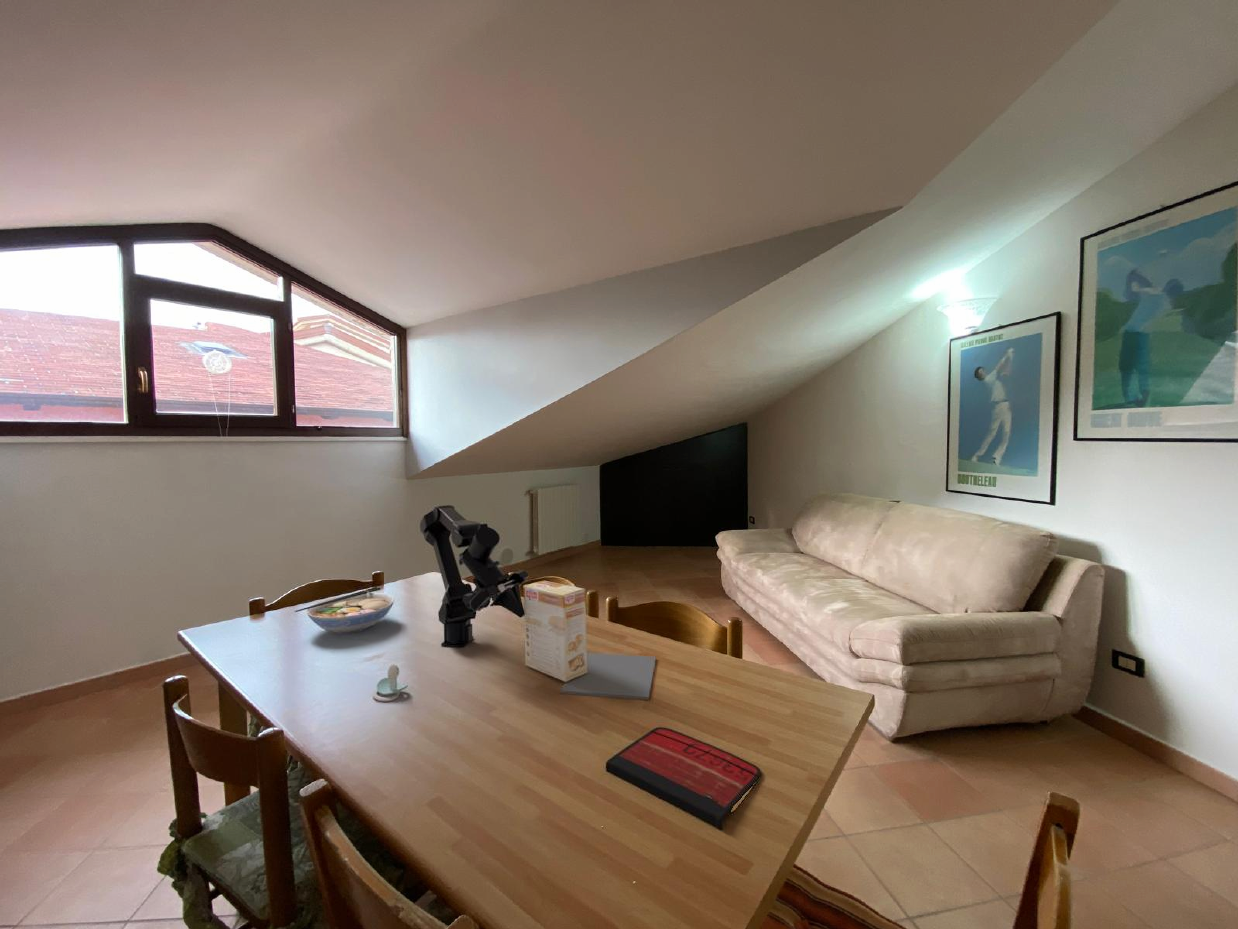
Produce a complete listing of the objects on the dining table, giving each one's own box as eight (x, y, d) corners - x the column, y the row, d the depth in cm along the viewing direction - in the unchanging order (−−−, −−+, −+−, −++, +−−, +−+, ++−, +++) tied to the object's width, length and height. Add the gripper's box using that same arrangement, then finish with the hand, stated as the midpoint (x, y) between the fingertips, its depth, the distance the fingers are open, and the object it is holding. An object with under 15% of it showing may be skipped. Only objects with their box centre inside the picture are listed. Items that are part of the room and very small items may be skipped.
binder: (721, 818, 70) (604, 760, 83) (721, 834, 70) (604, 774, 83) (765, 764, 83) (658, 721, 95) (765, 778, 83) (658, 734, 95)
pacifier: (386, 707, 104) (412, 693, 109) (384, 677, 103) (410, 665, 108) (365, 697, 108) (391, 685, 113) (364, 669, 107) (390, 658, 112)
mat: (560, 693, 108) (560, 690, 108) (581, 654, 128) (581, 652, 128) (648, 699, 106) (648, 697, 106) (655, 659, 125) (655, 657, 125)
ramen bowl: (330, 652, 130) (329, 621, 130) (286, 635, 142) (285, 606, 142) (415, 623, 151) (414, 596, 151) (370, 610, 163) (369, 585, 163)
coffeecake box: (588, 672, 116) (586, 588, 116) (565, 683, 111) (562, 595, 111) (547, 656, 127) (545, 579, 126) (524, 665, 121) (521, 585, 121)
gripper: (484, 578, 135) (521, 624, 132) (438, 599, 117) (480, 651, 114) (510, 551, 132) (548, 596, 129) (467, 567, 114) (510, 621, 111)
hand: (522, 616), depth 121 cm, fingers closed
